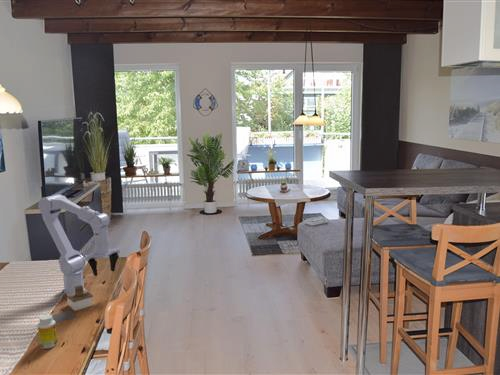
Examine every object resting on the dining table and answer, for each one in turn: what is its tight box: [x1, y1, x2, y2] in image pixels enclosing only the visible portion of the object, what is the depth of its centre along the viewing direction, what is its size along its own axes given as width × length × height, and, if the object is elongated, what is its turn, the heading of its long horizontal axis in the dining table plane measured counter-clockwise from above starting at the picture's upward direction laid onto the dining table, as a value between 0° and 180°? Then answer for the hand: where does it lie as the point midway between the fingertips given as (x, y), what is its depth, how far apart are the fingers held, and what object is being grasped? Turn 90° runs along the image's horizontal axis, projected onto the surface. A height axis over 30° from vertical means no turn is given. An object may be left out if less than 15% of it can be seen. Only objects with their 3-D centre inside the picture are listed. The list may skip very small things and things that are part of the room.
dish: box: [66, 296, 94, 312], centre depth 186 cm, size 8×8×4 cm
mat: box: [51, 310, 77, 324], centre depth 176 cm, size 8×8×1 cm
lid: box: [66, 285, 94, 302], centre depth 185 cm, size 8×8×4 cm
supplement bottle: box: [37, 314, 58, 349], centre depth 154 cm, size 6×6×10 cm
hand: (104, 273), depth 194 cm, fingers open, 7 cm apart
